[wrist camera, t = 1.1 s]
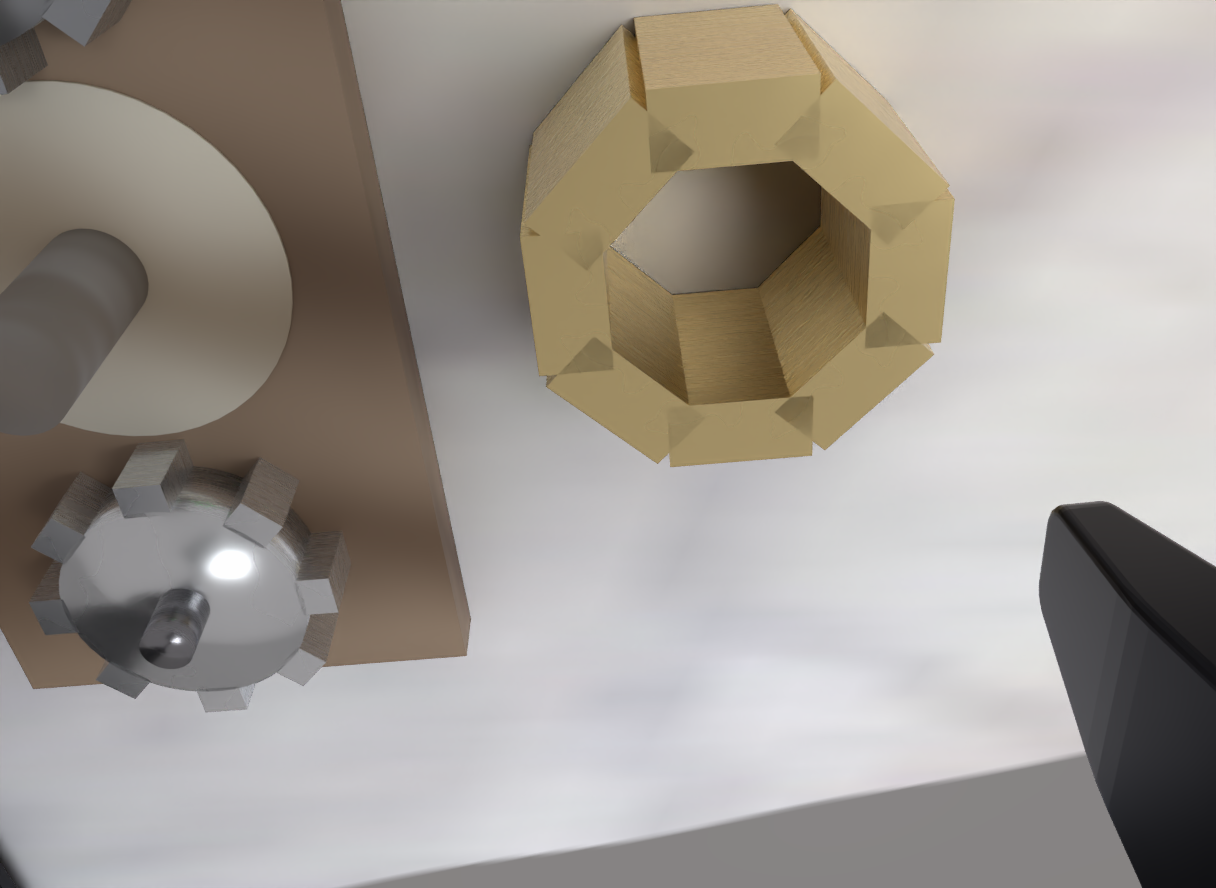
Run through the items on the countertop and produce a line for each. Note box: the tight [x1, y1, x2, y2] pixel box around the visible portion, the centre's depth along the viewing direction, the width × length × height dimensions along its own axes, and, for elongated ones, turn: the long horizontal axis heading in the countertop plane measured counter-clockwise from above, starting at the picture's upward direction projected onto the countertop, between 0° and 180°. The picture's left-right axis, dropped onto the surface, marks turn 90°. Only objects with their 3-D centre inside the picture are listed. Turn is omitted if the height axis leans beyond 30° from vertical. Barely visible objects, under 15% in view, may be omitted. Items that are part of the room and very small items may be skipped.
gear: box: [29, 439, 351, 712], centre depth 22 cm, size 6×6×3 cm
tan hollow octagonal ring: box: [520, 4, 955, 467], centre depth 19 cm, size 6×6×4 cm
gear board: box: [0, 0, 471, 689], centre depth 19 cm, size 20×10×5 cm, turn 5°
